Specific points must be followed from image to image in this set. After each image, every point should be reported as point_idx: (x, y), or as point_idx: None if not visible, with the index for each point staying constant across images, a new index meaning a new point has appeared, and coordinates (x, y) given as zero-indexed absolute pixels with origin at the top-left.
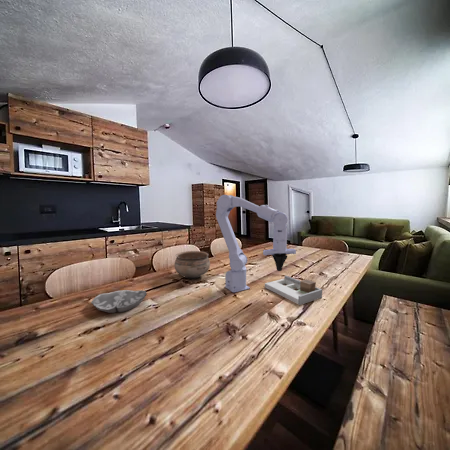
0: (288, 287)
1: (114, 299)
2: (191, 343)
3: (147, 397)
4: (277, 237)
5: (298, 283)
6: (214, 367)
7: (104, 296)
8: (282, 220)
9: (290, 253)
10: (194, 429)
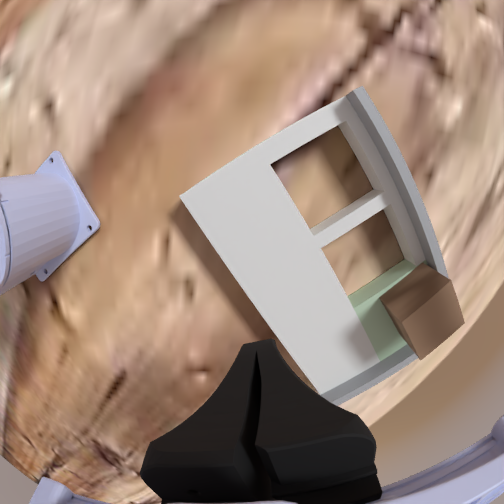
0: (328, 264)
1: None
2: (68, 461)
3: (80, 494)
4: None
5: (407, 207)
6: (119, 494)
7: None
8: None
9: (454, 466)
10: None
